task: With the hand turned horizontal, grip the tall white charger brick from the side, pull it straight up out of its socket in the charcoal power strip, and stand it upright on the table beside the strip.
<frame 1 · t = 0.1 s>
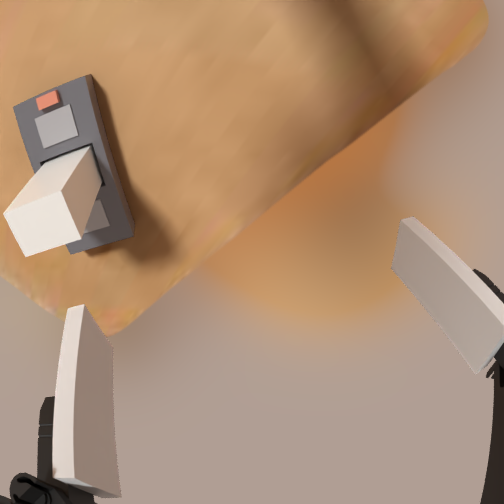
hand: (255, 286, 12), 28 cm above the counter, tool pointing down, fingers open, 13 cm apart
power strip: (77, 164, 33), on the counter
charger: (75, 169, 31), point 1 cm above the counter, touching power strip
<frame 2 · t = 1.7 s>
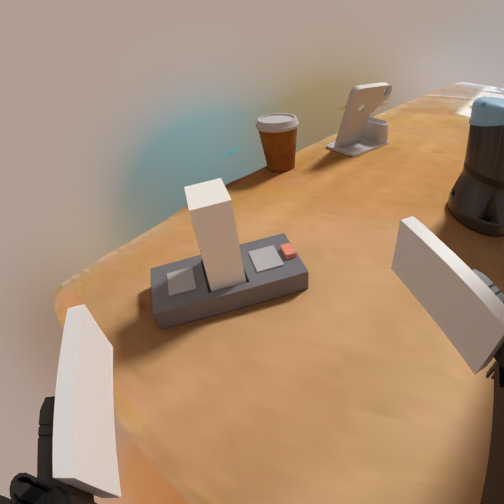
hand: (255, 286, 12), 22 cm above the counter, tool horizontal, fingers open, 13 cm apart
power strip: (227, 286, 44), on the counter
charger: (225, 278, 43), point 1 cm above the counter, touching power strip
disposable coffee cup: (281, 167, 73), on the counter
phone holder: (359, 145, 80), on the counter
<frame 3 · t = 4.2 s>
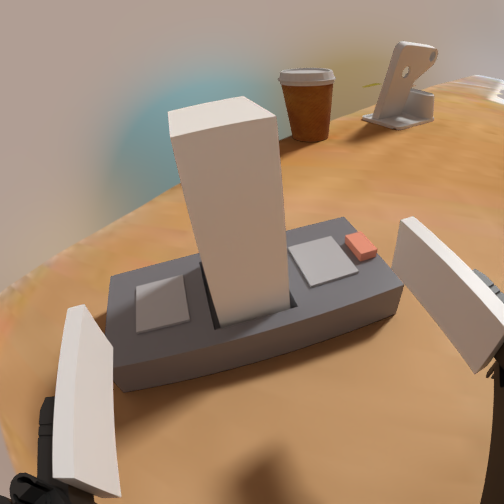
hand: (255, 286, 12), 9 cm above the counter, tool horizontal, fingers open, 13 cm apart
power strip: (248, 311, 24), on the counter
charger: (246, 297, 23), point 1 cm above the counter, touching power strip
disposable coffee cup: (310, 137, 53), on the counter
phone holder: (401, 120, 60), on the counter
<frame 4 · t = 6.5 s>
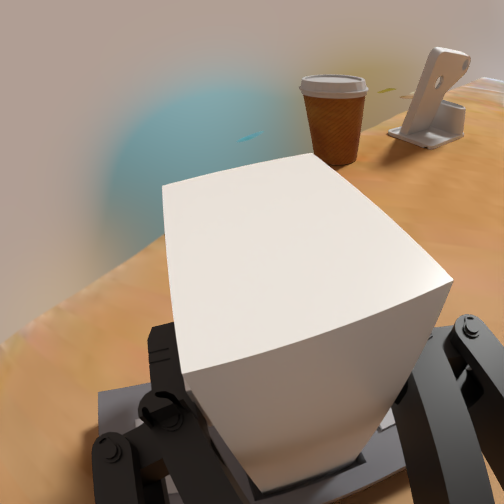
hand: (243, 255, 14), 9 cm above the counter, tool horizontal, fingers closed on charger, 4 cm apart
power strip: (289, 441, 16), on the counter
charger: (289, 433, 15), point 1 cm above the counter, touching gripper, power strip
disposable coffee cup: (335, 158, 45), on the counter
phone holder: (429, 135, 52), on the counter
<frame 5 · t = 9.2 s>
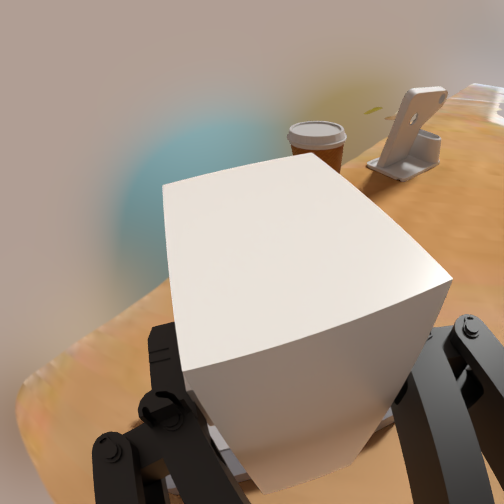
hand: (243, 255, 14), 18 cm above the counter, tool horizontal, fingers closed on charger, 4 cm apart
power strip: (275, 422, 25), on the counter
charger: (289, 432, 15), point 10 cm above the counter, touching gripper
disposable coffee cup: (318, 195, 54), on the counter
phone holder: (406, 164, 61), on the counter
when the fingers open (9 cm above the counter, at t = 11.6 s): charger drops 1 cm, on the counter.
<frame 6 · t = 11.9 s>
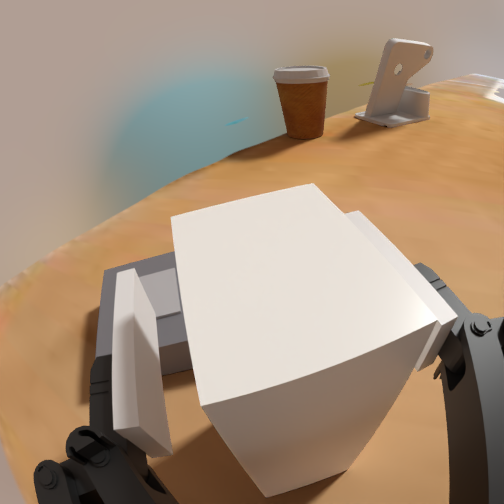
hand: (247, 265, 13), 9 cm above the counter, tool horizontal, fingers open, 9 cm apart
power strip: (240, 304, 24), on the counter
charger: (289, 439, 15), on the counter
disposable coffee cup: (305, 134, 53), on the counter
phone holder: (395, 118, 60), on the counter
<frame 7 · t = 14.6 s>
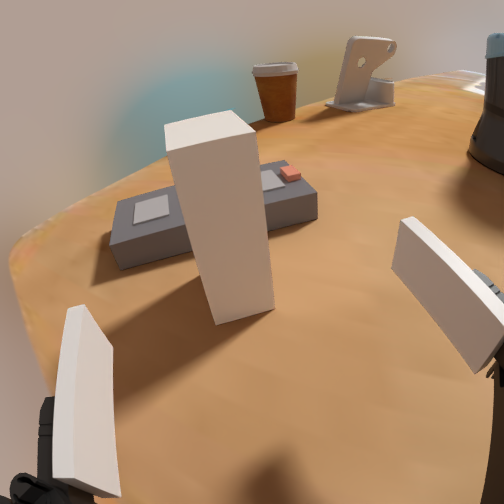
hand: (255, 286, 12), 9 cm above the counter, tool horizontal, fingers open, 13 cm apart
power strip: (212, 220, 34), on the counter
charger: (235, 289, 25), on the counter
disposable coffee cup: (280, 119, 63), on the counter
phone holder: (362, 105, 70), on the counter
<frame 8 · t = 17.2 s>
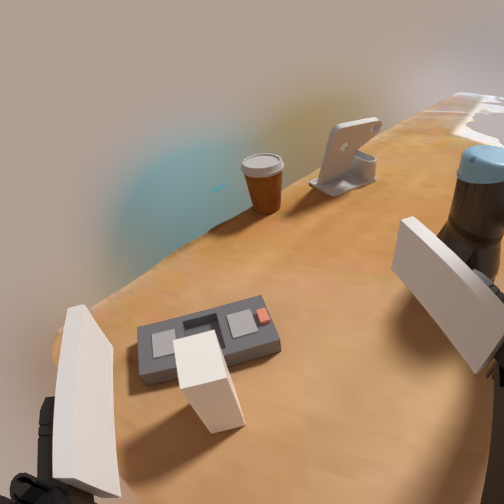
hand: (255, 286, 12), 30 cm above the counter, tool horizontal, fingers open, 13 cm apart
power strip: (207, 346, 46), on the counter
charger: (223, 410, 38), on the counter
disposable coffee cup: (267, 207, 75), on the counter
phone holder: (344, 182, 82), on the counter
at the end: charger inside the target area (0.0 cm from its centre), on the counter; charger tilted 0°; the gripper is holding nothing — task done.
